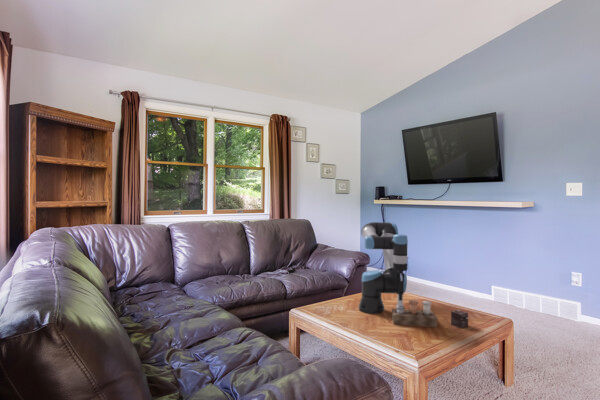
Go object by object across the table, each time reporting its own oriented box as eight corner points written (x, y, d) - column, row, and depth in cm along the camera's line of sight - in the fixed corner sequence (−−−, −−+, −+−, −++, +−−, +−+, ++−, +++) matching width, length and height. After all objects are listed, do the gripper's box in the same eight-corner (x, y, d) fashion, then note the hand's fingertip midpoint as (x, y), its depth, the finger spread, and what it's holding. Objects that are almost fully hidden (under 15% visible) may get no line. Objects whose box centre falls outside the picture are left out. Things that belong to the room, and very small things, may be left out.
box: (460, 328, 172) (460, 314, 173) (450, 324, 178) (450, 311, 178) (468, 326, 175) (468, 312, 175) (458, 323, 181) (458, 309, 181)
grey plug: (396, 320, 181) (396, 307, 181) (395, 317, 185) (395, 304, 185) (405, 321, 180) (405, 307, 180) (403, 318, 184) (404, 305, 185)
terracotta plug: (409, 316, 180) (409, 302, 180) (408, 313, 184) (408, 299, 184) (418, 316, 179) (418, 302, 179) (417, 313, 183) (417, 300, 183)
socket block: (393, 324, 178) (393, 315, 178) (391, 317, 189) (391, 308, 189) (436, 327, 174) (436, 317, 174) (432, 320, 185) (432, 311, 185)
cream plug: (423, 316, 178) (423, 302, 178) (421, 314, 183) (421, 300, 183) (432, 317, 177) (432, 303, 177) (430, 314, 182) (430, 300, 182)
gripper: (409, 265, 176) (408, 309, 176) (405, 261, 189) (405, 302, 188) (394, 264, 177) (394, 308, 177) (392, 260, 190) (392, 301, 190)
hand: (400, 305), depth 183 cm, fingers closed
